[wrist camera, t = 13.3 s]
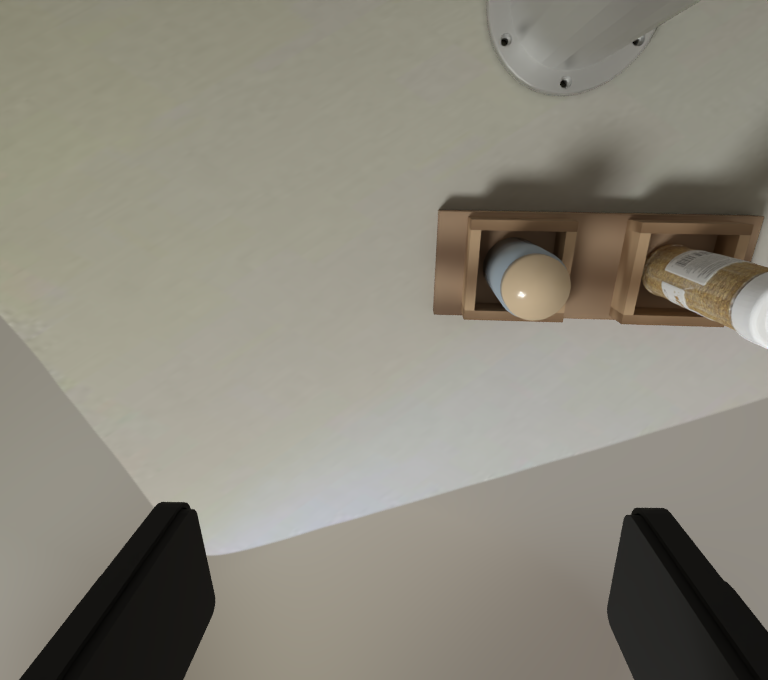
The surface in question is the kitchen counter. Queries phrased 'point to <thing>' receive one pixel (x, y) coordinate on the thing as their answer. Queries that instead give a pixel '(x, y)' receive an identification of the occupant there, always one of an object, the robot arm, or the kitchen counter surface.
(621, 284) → the spice rail
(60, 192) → the kitchen counter surface
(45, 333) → the kitchen counter surface
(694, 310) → the sprinkles bottle
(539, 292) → the spice pot
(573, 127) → the kitchen counter surface
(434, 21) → the kitchen counter surface
